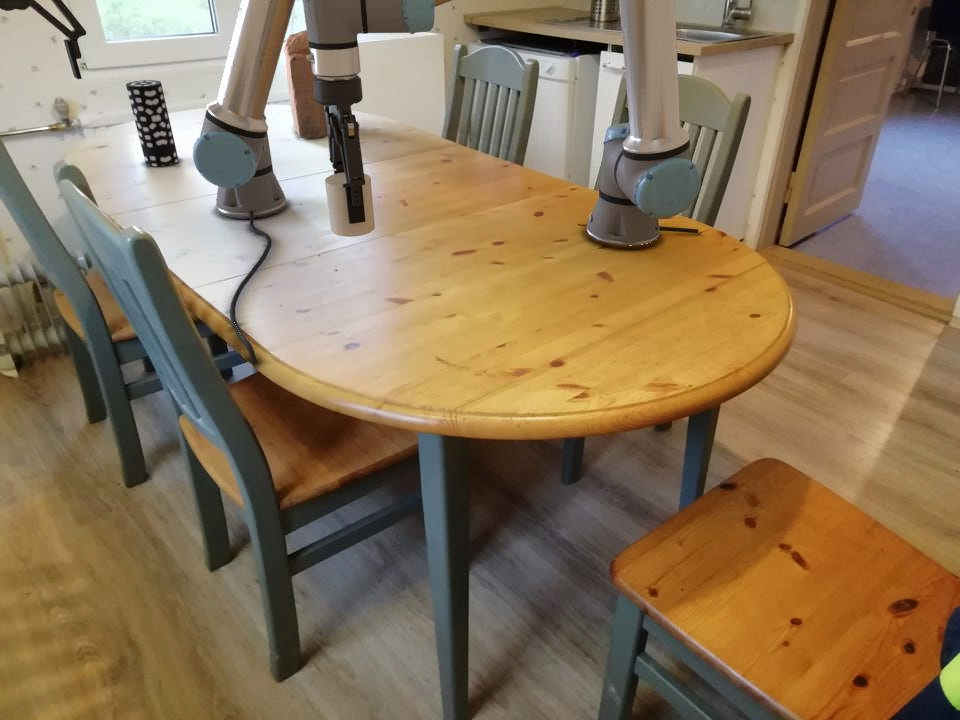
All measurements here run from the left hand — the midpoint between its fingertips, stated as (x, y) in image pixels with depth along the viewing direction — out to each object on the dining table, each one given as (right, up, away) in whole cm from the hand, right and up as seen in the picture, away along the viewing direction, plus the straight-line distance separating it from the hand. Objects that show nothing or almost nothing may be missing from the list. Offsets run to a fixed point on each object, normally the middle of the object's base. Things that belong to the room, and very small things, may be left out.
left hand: (38, 82), depth 127 cm
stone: (+29, +21, +89) cm, 96 cm away
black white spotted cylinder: (-4, +11, +54) cm, 55 cm away
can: (+59, -28, -5) cm, 66 cm away
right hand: (+59, -26, -6) cm, 65 cm away
